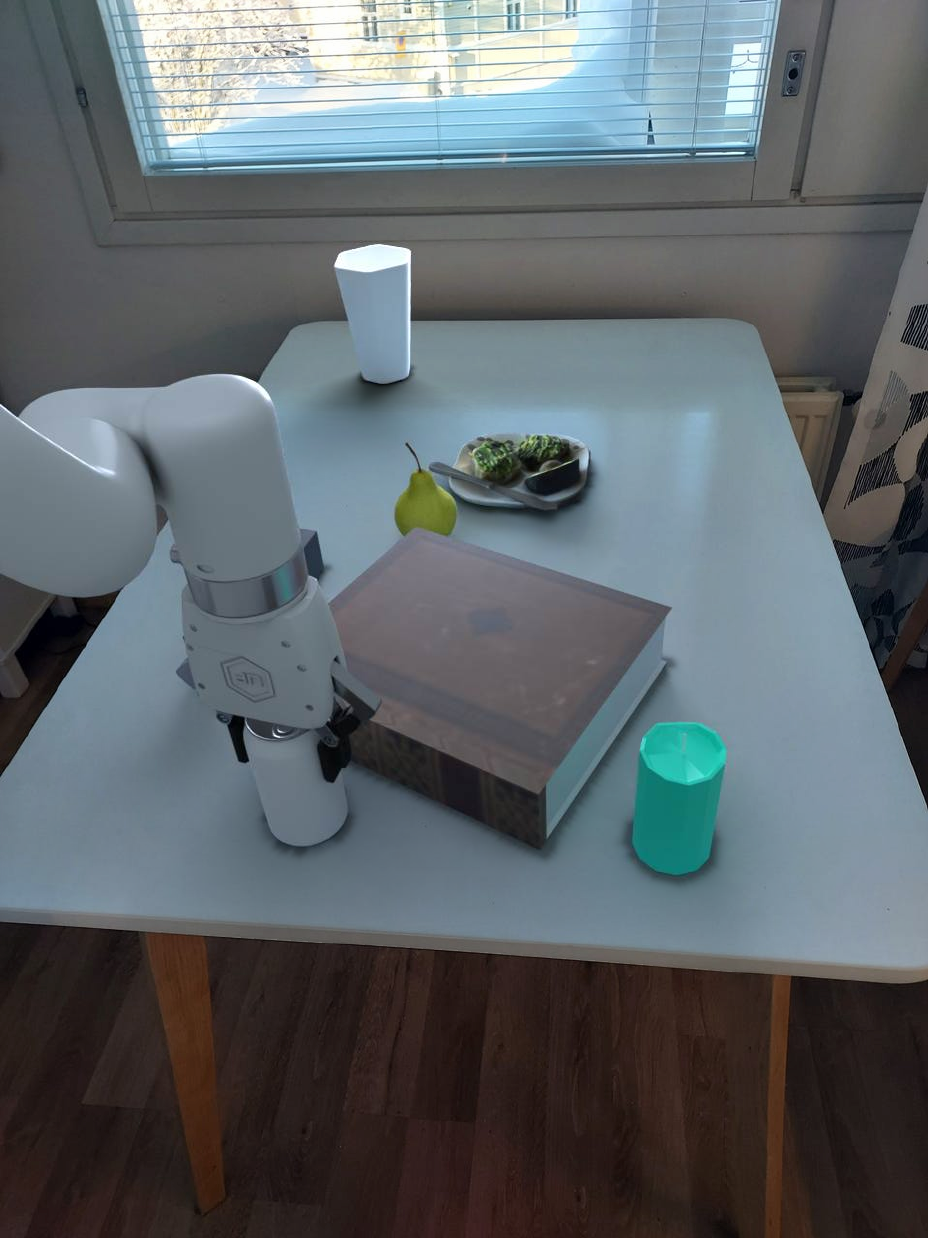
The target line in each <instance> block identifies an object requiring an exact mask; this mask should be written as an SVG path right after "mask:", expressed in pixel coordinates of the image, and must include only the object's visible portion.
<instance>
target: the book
mask: <svg viewBox="0 0 928 1238" xmlns="http://www.w3.org/2000/svg"><path fill="white" fill-rule="evenodd" d="M327 603H328V605H329V608H330V610H331V613H332V616H333V619H334V621H335V625H336V628H337V631H338V634H339V638H340V641H341V645H342V649H343V653H344V657H345V661H346V667H347V671H348V672H350V673H351V674H352V675H353V676H355V677H356V678H357V679H358V680H359V681H361V682H362V683H363V684H364V685H365V686H367V687H368V688H369V689H370V690H372V691H373V692H374V693H375V694H376V695H378V696H379V697H380V698H381V700H382V703H381V705H380V707H379V709H378V711H377V712H376V714H375V716H373V717H372V718H371V719H369V720H368V721H366V722H365V723H364V724H361V725H360V726H359V727H358V728H357V730H356V731H354V732H353V733H351V734H349V740H350V745H351V750H352V756H351V760H350V762H351V761H352V762H353V763H355V764H357V765H360V766H362V767H364V768H366V769H368V770H370V771H373V772H374V773H376V774H379V775H381V776H383V777H385V778H387V779H389V780H391V781H394V782H396V783H398V784H400V785H402V786H404V787H406V788H408V789H410V790H412V791H415V792H417V793H419V794H421V795H423V796H425V797H427V798H429V799H432V800H434V801H435V802H438V803H440V804H442V805H444V806H446V807H448V808H451V809H452V810H454V811H457V812H459V813H461V814H463V815H465V816H468V817H470V818H472V819H474V820H476V821H479V822H480V823H482V824H484V825H487V826H488V827H491V828H493V829H495V830H497V831H499V832H501V833H504V834H506V835H507V836H510V837H512V838H514V839H516V840H518V841H520V842H522V843H525V844H526V845H529V846H531V847H533V848H535V849H537V850H541V848H542V847H543V846H544V844H545V843H546V841H547V840H548V839H549V838H550V837H549V836H550V835H551V834H552V832H553V831H554V830H555V828H556V826H557V825H558V824H559V822H560V821H561V819H562V817H563V816H564V815H565V813H566V812H567V810H568V809H569V807H571V804H572V803H573V801H574V800H575V799H576V797H577V795H578V794H579V793H580V791H582V788H583V786H584V785H585V784H586V782H587V781H588V779H589V778H590V776H591V775H592V774H593V772H594V770H595V769H596V767H597V766H598V764H599V763H600V761H601V760H602V759H603V757H604V756H605V754H606V753H607V752H608V750H609V748H610V747H611V745H612V744H613V742H614V741H615V740H616V738H617V737H618V735H619V734H620V732H621V730H622V729H623V727H624V726H625V725H626V723H627V722H628V720H629V719H630V718H631V716H632V715H633V713H634V712H635V710H636V708H637V707H638V705H639V704H640V702H642V700H643V698H644V697H645V695H646V694H647V693H648V691H649V690H650V688H651V686H652V685H653V684H654V682H655V680H656V679H657V677H658V676H659V675H660V673H661V671H662V670H663V669H664V667H665V666H666V665H667V663H668V662H667V661H665V660H662V659H663V648H664V637H665V627H666V618H667V616H668V614H669V613H670V612H671V611H672V609H673V607H672V606H668V605H665V604H662V603H660V602H655V601H653V600H650V599H647V598H644V597H641V596H636V595H634V594H631V593H628V592H624V591H621V590H618V589H615V588H611V587H608V586H605V585H603V584H599V583H596V582H593V581H589V580H586V579H583V578H580V577H577V576H574V575H570V574H568V573H564V572H562V571H558V570H554V569H551V568H548V567H545V566H542V565H540V564H539V565H538V564H535V563H532V562H529V561H525V560H523V559H520V558H517V557H512V556H511V555H508V554H505V553H500V552H497V551H494V550H491V549H488V548H485V547H482V546H478V545H475V544H472V543H469V542H466V541H462V540H459V539H456V538H454V537H450V536H448V537H447V536H444V535H441V534H437V533H434V532H431V531H428V530H425V529H422V528H418V527H415V528H413V529H412V530H411V531H410V532H409V533H408V534H407V535H406V536H403V537H402V538H401V539H399V540H398V541H397V542H396V543H395V544H394V545H392V546H391V548H389V549H388V550H387V551H386V552H385V553H384V554H382V556H380V557H379V558H378V559H377V560H376V561H374V563H372V564H371V565H370V566H369V567H367V569H365V570H364V571H363V572H362V573H360V575H358V576H357V577H356V578H355V579H354V580H353V581H352V582H350V583H349V584H348V585H347V586H346V587H345V588H343V589H342V590H341V591H340V592H339V593H338V594H337V595H336V596H334V597H333V598H332V599H331V600H330V601H329V602H327ZM339 697H340V696H339ZM340 698H341V697H340ZM341 700H342V701H343V702H344V704H345V705H346V707H348V706H350V704H349V703H347V702H346V701H345V700H344V699H342V698H341ZM332 717H333V716H332V714H331V717H330V718H329V719H331V718H332Z"/></svg>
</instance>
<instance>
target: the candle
mask: <svg viewBox="0 0 928 1238" xmlns="http://www.w3.org/2000/svg"><path fill="white" fill-rule="evenodd" d="M727 753H728V748H727V747H726V744H725V743H724V742H723V740H722V738H721V735H720V734H719V732H718V731H715V730H714V729H713V728H712V729H711V728H710V727H709V726H706V725H705V724H703V723H701V722H697V721H695V722H693V721H673V722H672V721H671V722H656V723H655V724H654V725H653V726H652V728H650V729H649V730H648V732H646V733H645V734H644V735H643V736H642V739H641V743H640V748H639V752H638V763H637V764H638V766H637V777H636V790H635V800H634V801H635V802H634V812H633V813H634V815H633V824H632V825H633V827H632V839H631V844H632V845H633V848H634V850H635V852H636V854H637V857H638V860H640V861H641V862H643V863H644V864H646V865H647V866H648V867H649V868H651V869H653V870H654V871H655V872H659V873H662V874H663V873H664V874H667V875H668V874H669V875H672V876H680V875H684V874H688V873H692V872H697V871H698V870H699V869H700V868H701V867H702V866H703V865H704V864H705V863H707V861H708V860H709V859H710V855H711V849H712V844H713V838H714V832H715V827H716V821H717V820H716V819H717V814H718V808H719V802H720V797H721V791H722V785H723V779H724V773H725V767H726V759H727Z"/></svg>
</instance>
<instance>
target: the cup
mask: <svg viewBox="0 0 928 1238" xmlns="http://www.w3.org/2000/svg"><path fill="white" fill-rule="evenodd" d="M411 254H412V253H411V250H410V249H408V248H405V247H398V246H392V245H387V244H371V245H367V246H362V247H358V248H355V249H349V250H344V251H342V252H340V253H339V254H338V255H337V258H336V260H335V262H334V264H333V269H334V273H335V276H336V280H337V285H338V287H339V288H338V289H339V292H340V296H341V299H342V302H343V303H342V304H343V307H344V310H345V315H346V318H347V322H348V326H349V330H350V333H351V337H352V341H353V344H354V348H355V353H356V356H357V360H358V364H359V367H360V372H361V375H362V379H363V380H365V381H367V382H372V383H377V384H381V385H382V384H384V385H385V384H390V383H394V382H398V381H400V380H405V379H406V378H408V377H409V374H410V369H411V259H412V258H411V257H412V256H411Z"/></svg>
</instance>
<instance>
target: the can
mask: <svg viewBox="0 0 928 1238" xmlns="http://www.w3.org/2000/svg"><path fill="white" fill-rule="evenodd" d="M329 721H330V719H329ZM244 722H245V726H244V731H243V738H244V743H245V747H246V751H247V754H248V758H249V764H250V768H251V771H252V775H253V779H254V782H255V785H256V788H257V792H258V795H259V798H260V802H261V805H262V808H263V812H264V814H265V818H266V821H267V824H268V827H269V830H270V832H271V834H272V835H273V836H274V837H275V838H276V839H277V840H278V841H280V842H282V843H284V844H287V845H289V846H294V847H310V846H314V845H318V844H320V843H322V842H324V841H327V840H329V839H330V838H331V837H333V836H334V835H335V834H337V832H339V831H340V829H342V827H343V825H344V824H345V822H346V819H347V816H348V812H349V811H348V810H349V809H348V801H347V796H346V789H345V785H344V780H343V776H342V770H341V771H340V773H339V775H338V776H337V778H336V780H335V782H334V783H330V782H326V780H325V779H324V777H323V773H322V768H321V764H320V759H319V755H318V751H317V746H318V743H319V742H320V740H321V738H320V737H319V736H318V734H317V733H316V731H315V730H314V729H304V728H297V727H291V726H286V725H281V724H276V723H271V722H266V721H261V720H256V719H252V718H247V717H244Z"/></svg>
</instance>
